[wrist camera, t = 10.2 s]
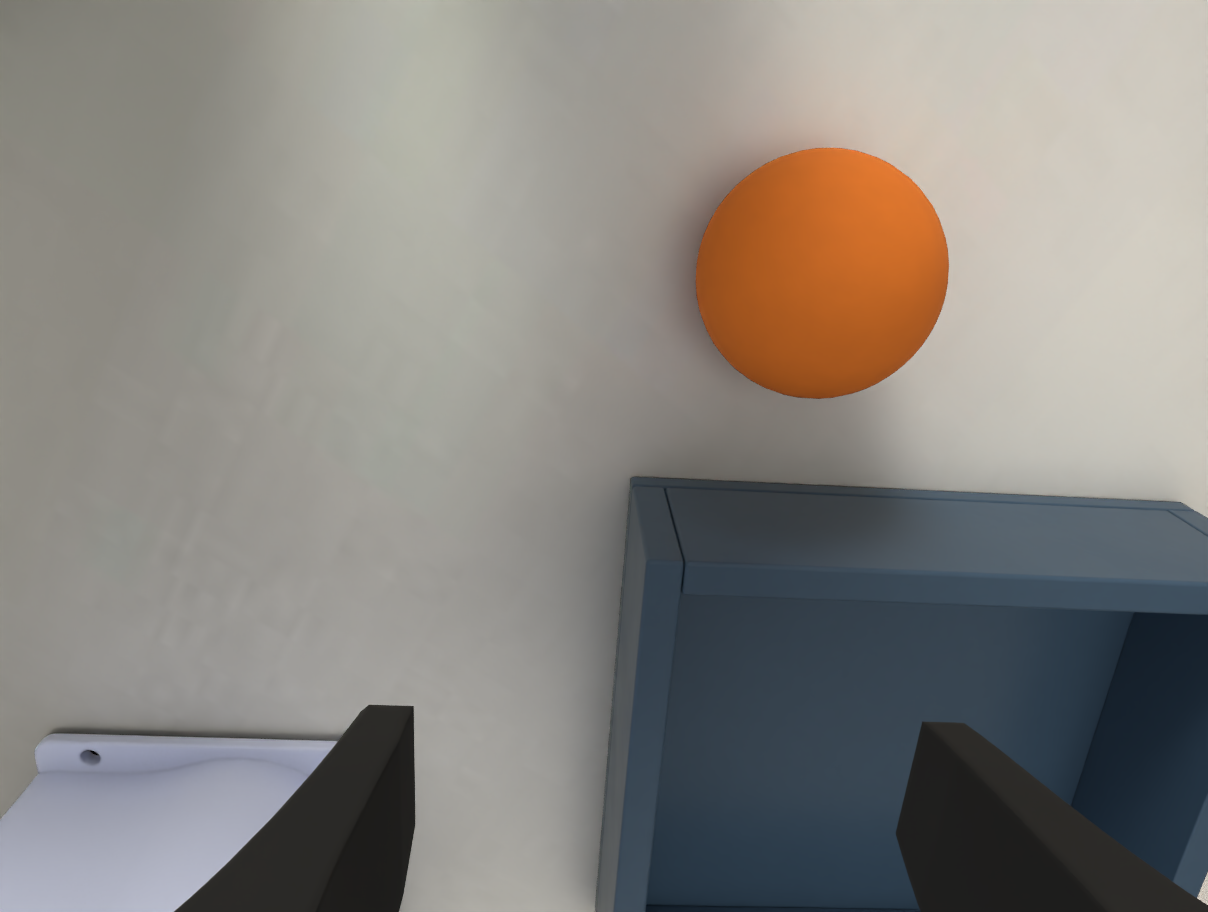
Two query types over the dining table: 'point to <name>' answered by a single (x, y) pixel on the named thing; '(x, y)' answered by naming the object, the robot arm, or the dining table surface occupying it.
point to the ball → (822, 273)
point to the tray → (890, 681)
